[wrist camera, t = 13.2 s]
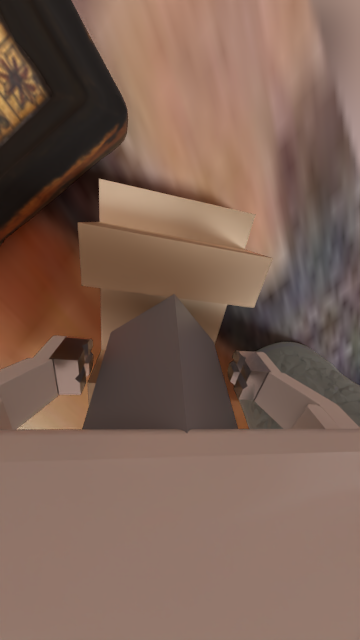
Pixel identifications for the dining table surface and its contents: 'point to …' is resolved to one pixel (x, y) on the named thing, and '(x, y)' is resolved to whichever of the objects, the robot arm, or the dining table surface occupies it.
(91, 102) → the religious icon
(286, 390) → the robot arm
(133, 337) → the grey rectangular block
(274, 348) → the grey hollow cylinder
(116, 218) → the notch board
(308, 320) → the dining table surface
